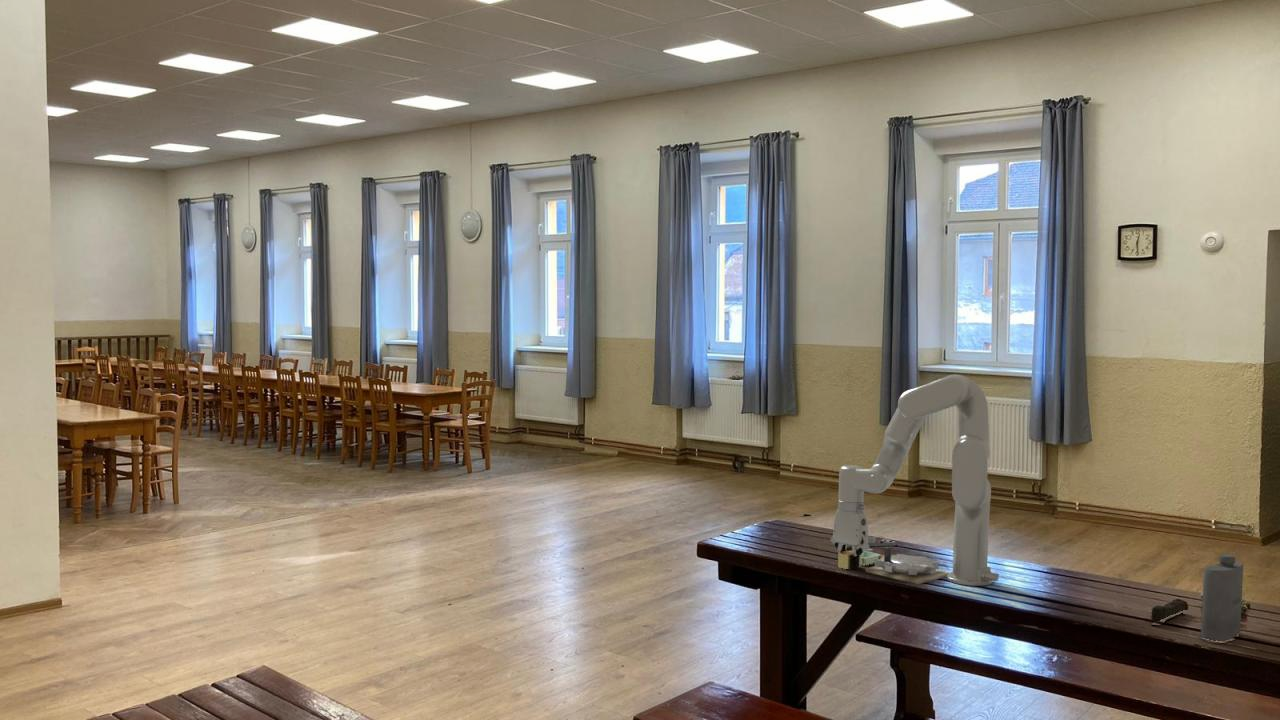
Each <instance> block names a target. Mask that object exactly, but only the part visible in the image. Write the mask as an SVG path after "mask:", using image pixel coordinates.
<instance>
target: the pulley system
mask: <svg viewBox="0 0 1280 720" xmlns="http://www.w3.org/2000/svg"><path fill="white" fill-rule="evenodd" d="M884 540H886V541H884ZM889 541H892V542H889ZM880 542H881V543H880ZM882 542H883V543H882ZM868 545H869V546H875V547H894V546H897V541H893V540H890V539H881V540H879V541H877V537H875V536H868ZM885 545H886V546H885ZM847 546H849V547H848V548H850V547H852V545H847ZM862 546H863V545H862V544H861V547H862ZM856 548H857V547H856ZM873 550H874V549H873V548H870V547H869V549H867V550H865V551H867V552H872V553H874V551H873Z"/></svg>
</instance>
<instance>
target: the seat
mask: <svg viewBox="0 0 1280 720" xmlns="http://www.w3.org/2000/svg"><path fill="white" fill-rule="evenodd" d="M880 555H882V554H880V553H876V552H873V553H872V552H867V551H864V552H863V553H862V554H861V555H860V566H862V565H863V566H862V567H865V565H866V566H869V564H870V565H874V564H875V559H878V556H880ZM873 563H874V564H873Z"/></svg>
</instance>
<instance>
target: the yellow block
mask: <svg viewBox="0 0 1280 720" xmlns="http://www.w3.org/2000/svg"><path fill="white" fill-rule="evenodd" d="M837 553H838V552H837ZM837 555H838V557H837V568H838V567H839V569H842V568H843V570H846V569H849V570H852V569H851V556H853V551H852V550H846V551H843V552H841V553H838V554H837ZM860 567H861V565H860V558H859V568H860Z"/></svg>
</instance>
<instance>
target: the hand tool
mask: <svg viewBox="0 0 1280 720" xmlns="http://www.w3.org/2000/svg"><path fill="white" fill-rule="evenodd" d="M1183 610H1188V611H1189V605H1188V602H1187V601H1186V600H1183V599H1181V598H1175V599H1173V600H1172V601H1171V602H1169V603H1168V602H1167V603H1165V604H1164V605H1155V606H1153V607H1152V609H1151V615H1150V617H1151V624H1152V623H1153V622H1156V621H1160V620H1161V619H1164V618H1166V617H1168V616H1170V615H1173V614H1176V613H1178V612H1180V611H1183ZM1152 621H1153V622H1152Z"/></svg>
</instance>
